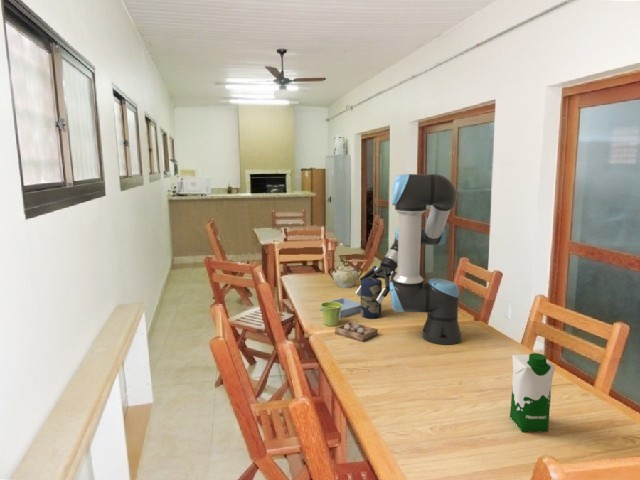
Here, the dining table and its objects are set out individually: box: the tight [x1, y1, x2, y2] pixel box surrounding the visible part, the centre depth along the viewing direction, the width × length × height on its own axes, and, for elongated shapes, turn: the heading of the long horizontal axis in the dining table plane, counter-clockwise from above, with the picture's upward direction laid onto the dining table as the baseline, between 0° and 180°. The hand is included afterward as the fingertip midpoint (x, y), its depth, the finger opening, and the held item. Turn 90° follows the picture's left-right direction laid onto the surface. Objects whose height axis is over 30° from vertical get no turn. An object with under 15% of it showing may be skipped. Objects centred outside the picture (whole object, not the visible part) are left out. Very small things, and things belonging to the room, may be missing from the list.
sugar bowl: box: [328, 259, 363, 289], centre depth 261 cm, size 20×15×15 cm
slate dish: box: [320, 297, 361, 319], centre depth 217 cm, size 15×15×4 cm
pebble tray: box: [334, 321, 379, 343], centre depth 187 cm, size 14×10×4 cm
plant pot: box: [321, 301, 342, 327], centre depth 199 cm, size 9×9×9 cm
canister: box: [359, 278, 383, 319], centre depth 208 cm, size 10×10×18 cm
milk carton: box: [509, 352, 556, 432], centre depth 120 cm, size 9×9×20 cm
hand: (367, 298), depth 207 cm, fingers open, 13 cm apart
